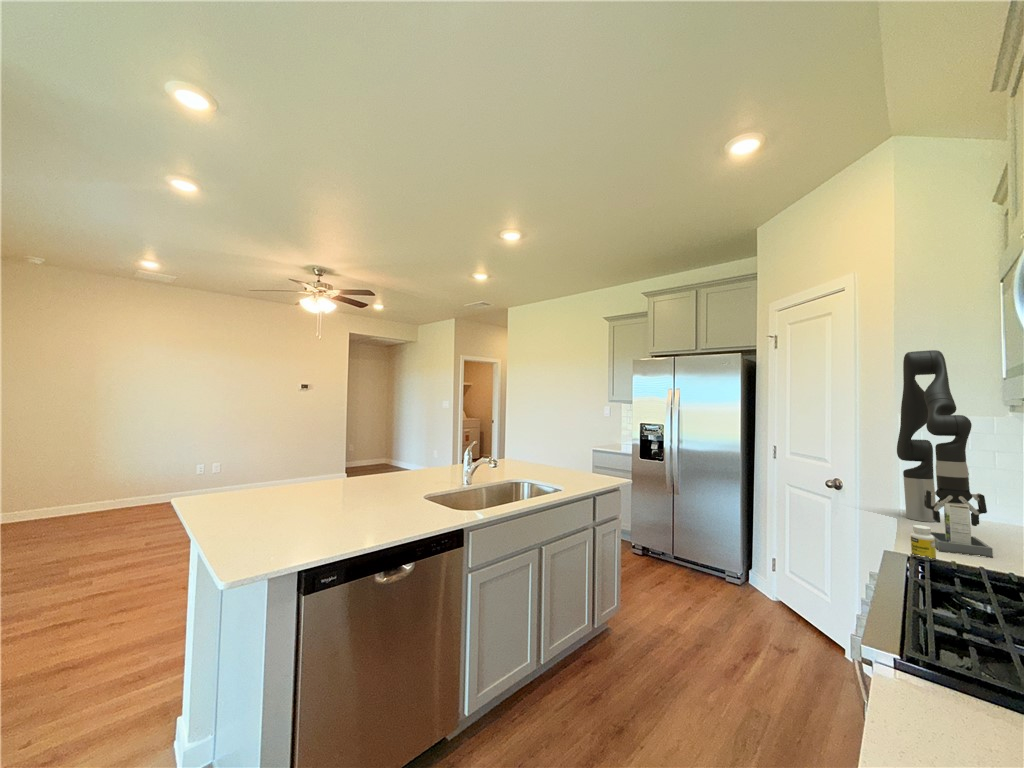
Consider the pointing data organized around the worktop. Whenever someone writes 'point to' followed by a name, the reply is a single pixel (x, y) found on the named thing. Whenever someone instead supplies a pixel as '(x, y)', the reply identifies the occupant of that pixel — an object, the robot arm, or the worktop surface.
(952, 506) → the syrup box
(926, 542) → the supplement bottle
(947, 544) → the tray
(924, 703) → the worktop surface
